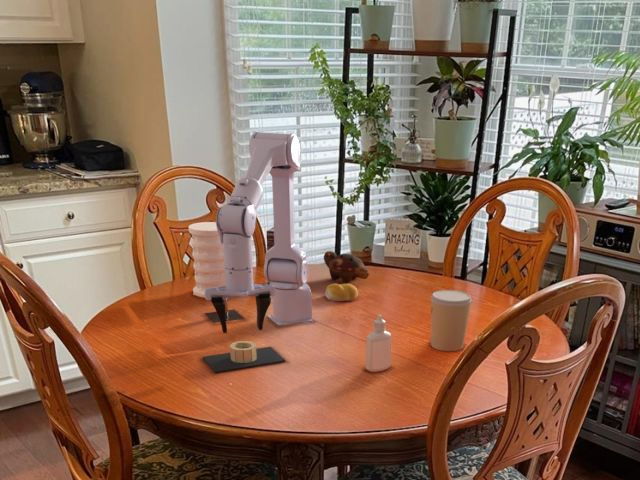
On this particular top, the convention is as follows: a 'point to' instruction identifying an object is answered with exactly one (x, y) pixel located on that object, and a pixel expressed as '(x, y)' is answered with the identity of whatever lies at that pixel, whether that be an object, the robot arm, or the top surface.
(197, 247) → the decorative container
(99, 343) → the top surface
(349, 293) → the bread roll
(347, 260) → the decorative turtle
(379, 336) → the eye dropper bottle
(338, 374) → the top surface
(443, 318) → the white canister
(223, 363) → the mat
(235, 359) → the wooden ring
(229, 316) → the tape post
